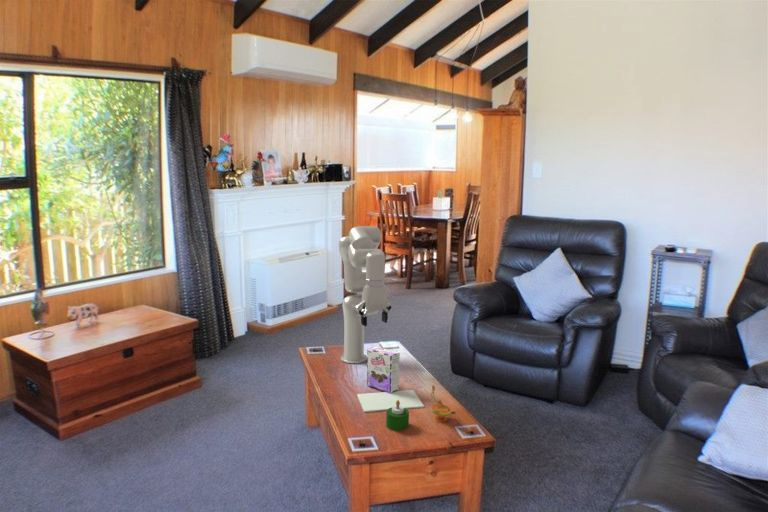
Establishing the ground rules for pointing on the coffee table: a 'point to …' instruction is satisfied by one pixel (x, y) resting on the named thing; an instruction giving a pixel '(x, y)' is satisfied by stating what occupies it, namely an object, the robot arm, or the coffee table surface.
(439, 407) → the magic lamp
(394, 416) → the candle
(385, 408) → the mat
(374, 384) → the candy box
